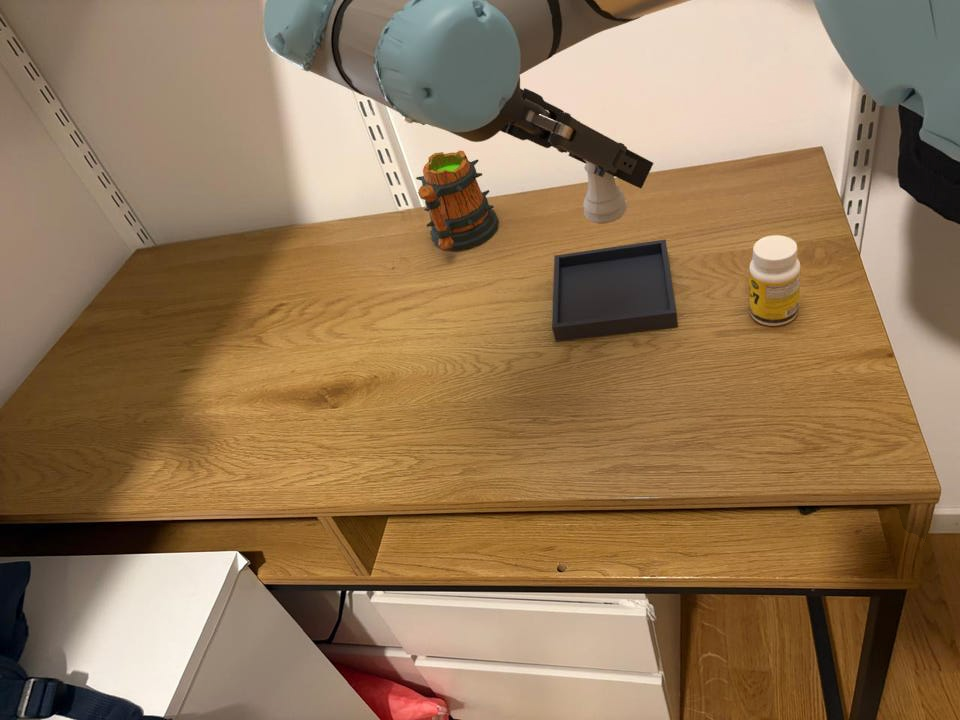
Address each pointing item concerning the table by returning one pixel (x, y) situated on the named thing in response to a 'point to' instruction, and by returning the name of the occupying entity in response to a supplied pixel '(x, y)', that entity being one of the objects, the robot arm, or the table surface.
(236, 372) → the table surface
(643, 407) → the table surface
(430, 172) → the mug
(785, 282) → the supplement bottle
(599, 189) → the rook chess piece
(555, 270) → the dark tray
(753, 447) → the table surface
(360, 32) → the robot arm
